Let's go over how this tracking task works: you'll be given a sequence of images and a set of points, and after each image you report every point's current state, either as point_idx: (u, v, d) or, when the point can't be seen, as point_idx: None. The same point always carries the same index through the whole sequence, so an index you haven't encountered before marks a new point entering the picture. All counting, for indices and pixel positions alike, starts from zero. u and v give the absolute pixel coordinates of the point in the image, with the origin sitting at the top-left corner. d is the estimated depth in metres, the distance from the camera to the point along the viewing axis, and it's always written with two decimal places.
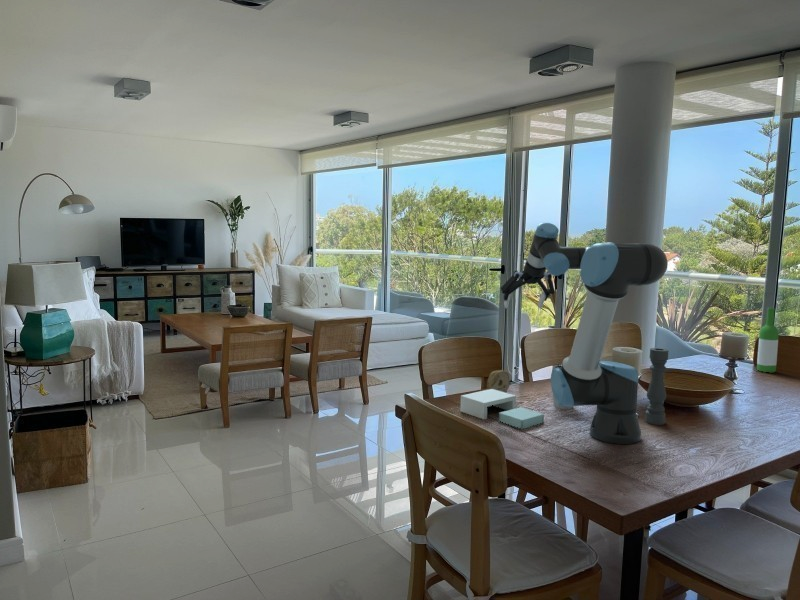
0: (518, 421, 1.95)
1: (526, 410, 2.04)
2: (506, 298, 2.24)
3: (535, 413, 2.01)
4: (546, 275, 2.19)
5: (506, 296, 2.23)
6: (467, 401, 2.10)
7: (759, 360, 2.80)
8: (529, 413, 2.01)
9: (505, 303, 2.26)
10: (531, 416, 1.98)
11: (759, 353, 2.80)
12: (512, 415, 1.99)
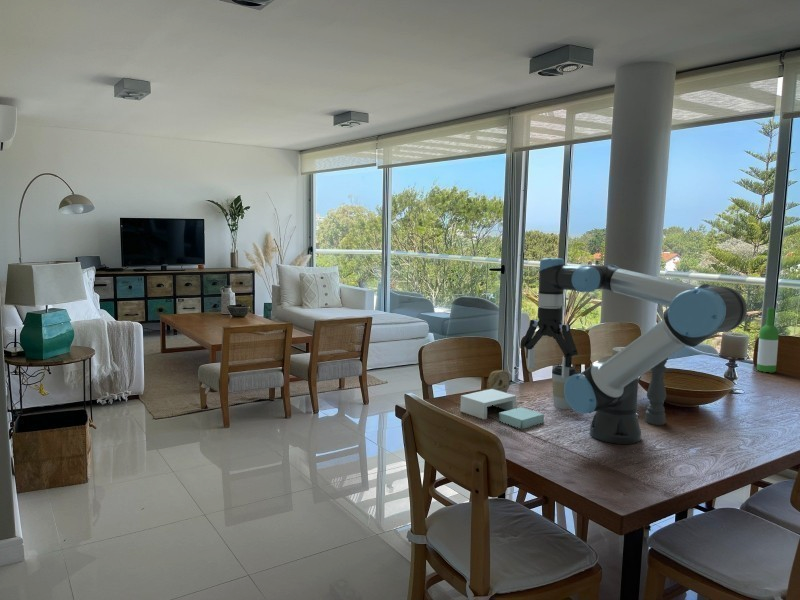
0: (518, 421, 1.95)
1: (526, 410, 2.04)
2: (527, 355, 1.97)
3: (535, 413, 2.01)
4: (561, 326, 1.86)
5: (527, 352, 1.97)
6: (467, 401, 2.10)
7: (759, 360, 2.80)
8: (529, 413, 2.01)
9: None
10: (531, 416, 1.98)
11: (759, 353, 2.80)
12: (512, 415, 1.99)
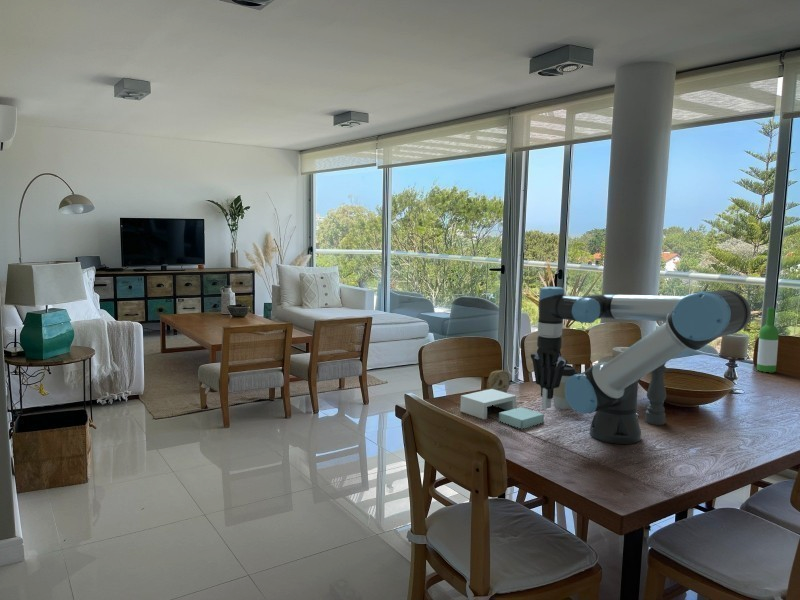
0: (518, 421, 1.95)
1: (526, 410, 2.04)
2: None
3: (535, 413, 2.01)
4: (559, 359, 1.87)
5: (542, 390, 1.93)
6: (467, 401, 2.10)
7: (759, 360, 2.80)
8: (529, 413, 2.01)
9: None
10: (531, 416, 1.98)
11: (759, 353, 2.80)
12: (512, 415, 1.99)
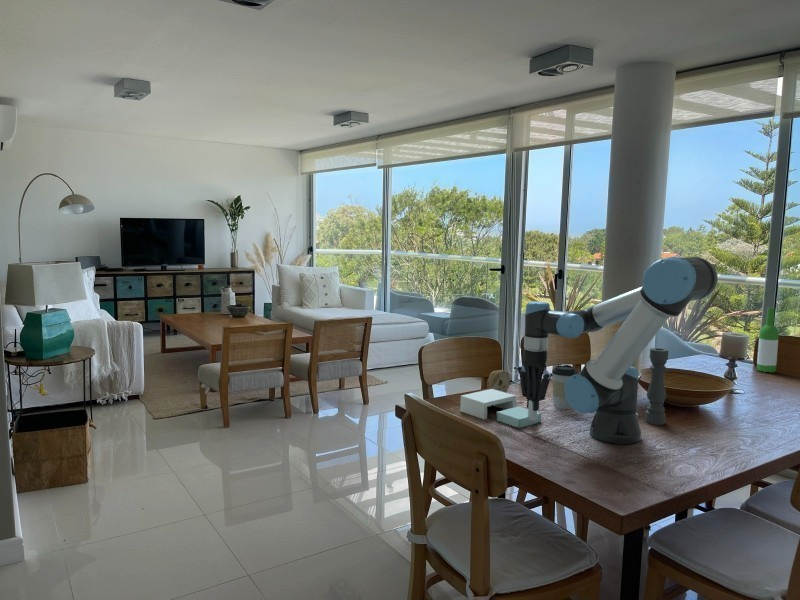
0: (515, 421, 1.96)
1: (524, 409, 2.05)
2: (528, 405, 1.97)
3: None
4: (545, 373, 1.92)
5: (528, 402, 1.97)
6: (467, 401, 2.10)
7: (759, 360, 2.80)
8: (527, 412, 2.02)
9: None
10: None
11: (759, 353, 2.80)
12: (510, 414, 1.99)
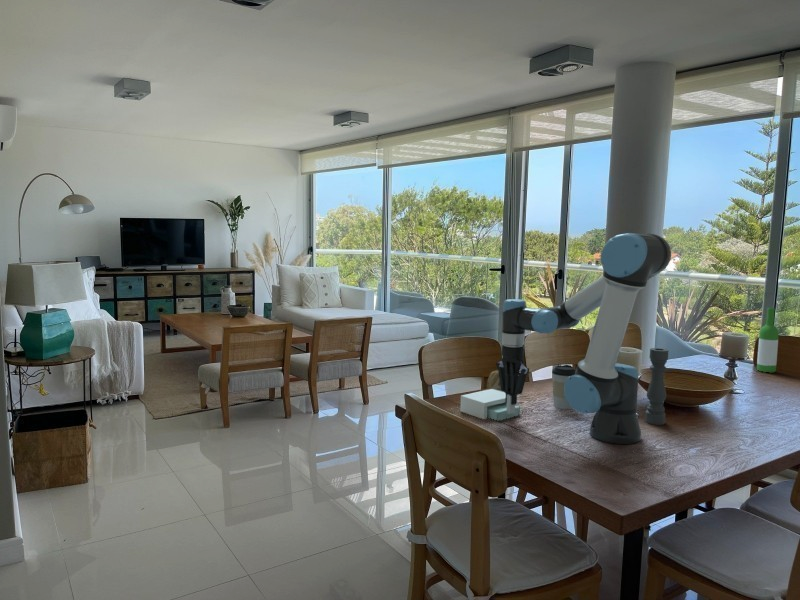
0: (494, 414, 2.03)
1: (503, 403, 2.13)
2: (507, 399, 2.05)
3: None
4: (522, 367, 1.99)
5: (506, 397, 2.05)
6: (467, 401, 2.10)
7: (759, 360, 2.80)
8: (506, 406, 2.09)
9: None
10: None
11: (759, 353, 2.80)
12: (489, 408, 2.07)
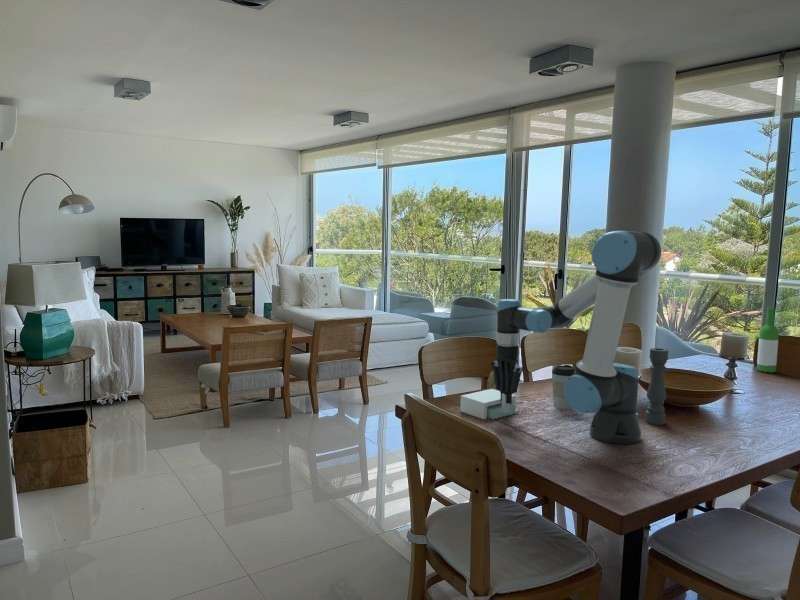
0: (489, 412, 2.05)
1: None
2: (502, 398, 2.07)
3: None
4: (516, 367, 2.01)
5: (501, 395, 2.07)
6: (467, 401, 2.10)
7: (759, 360, 2.80)
8: (501, 404, 2.11)
9: None
10: None
11: (759, 353, 2.80)
12: None
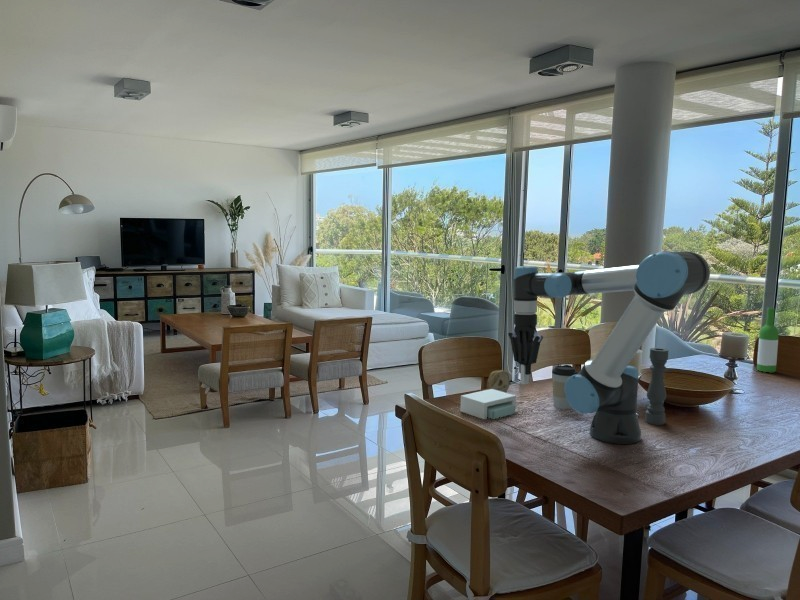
0: (489, 412, 2.05)
1: None
2: (520, 370, 1.99)
3: (506, 404, 2.11)
4: (535, 335, 1.94)
5: (520, 367, 1.99)
6: (467, 401, 2.10)
7: (759, 360, 2.80)
8: (501, 404, 2.11)
9: None
10: (502, 407, 2.08)
11: (759, 353, 2.80)
12: None
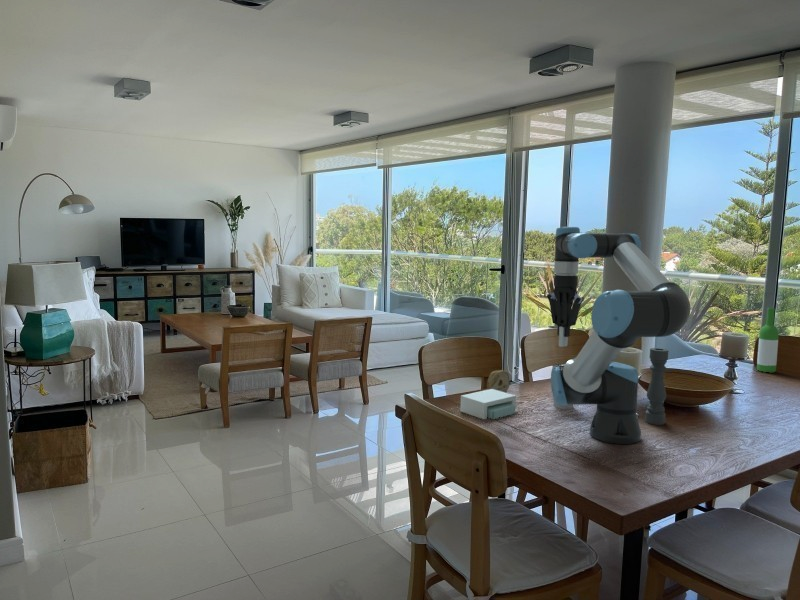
0: (489, 412, 2.05)
1: None
2: None
3: (506, 404, 2.11)
4: (576, 297, 1.91)
5: (558, 329, 1.97)
6: (467, 401, 2.10)
7: (759, 360, 2.80)
8: (501, 404, 2.11)
9: None
10: (502, 407, 2.08)
11: (759, 353, 2.80)
12: None
